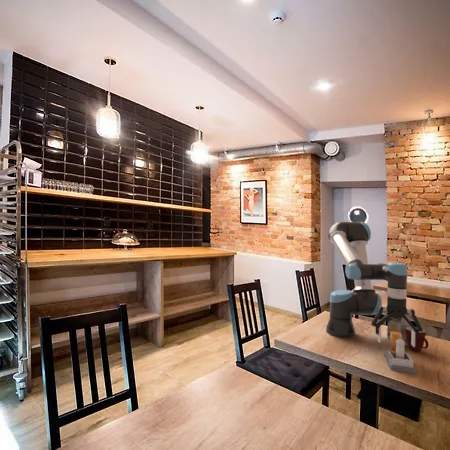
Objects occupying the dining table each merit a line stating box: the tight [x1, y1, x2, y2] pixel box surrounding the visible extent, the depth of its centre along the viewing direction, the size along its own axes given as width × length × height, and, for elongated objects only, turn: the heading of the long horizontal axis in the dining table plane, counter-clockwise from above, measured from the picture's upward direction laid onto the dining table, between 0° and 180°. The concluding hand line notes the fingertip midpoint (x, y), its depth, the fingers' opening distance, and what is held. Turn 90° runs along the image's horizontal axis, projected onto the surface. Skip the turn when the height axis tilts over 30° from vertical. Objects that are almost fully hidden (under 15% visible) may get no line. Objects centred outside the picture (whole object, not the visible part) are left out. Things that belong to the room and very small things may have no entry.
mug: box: [406, 326, 430, 353], centre depth 140 cm, size 10×8×10 cm
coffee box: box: [386, 312, 412, 346], centre depth 152 cm, size 9×6×16 cm
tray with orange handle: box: [387, 331, 415, 368], centre depth 128 cm, size 14×8×10 cm, turn 161°
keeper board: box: [383, 339, 416, 374], centre depth 127 cm, size 15×9×12 cm, turn 162°
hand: (395, 343), depth 132 cm, fingers open, 13 cm apart
